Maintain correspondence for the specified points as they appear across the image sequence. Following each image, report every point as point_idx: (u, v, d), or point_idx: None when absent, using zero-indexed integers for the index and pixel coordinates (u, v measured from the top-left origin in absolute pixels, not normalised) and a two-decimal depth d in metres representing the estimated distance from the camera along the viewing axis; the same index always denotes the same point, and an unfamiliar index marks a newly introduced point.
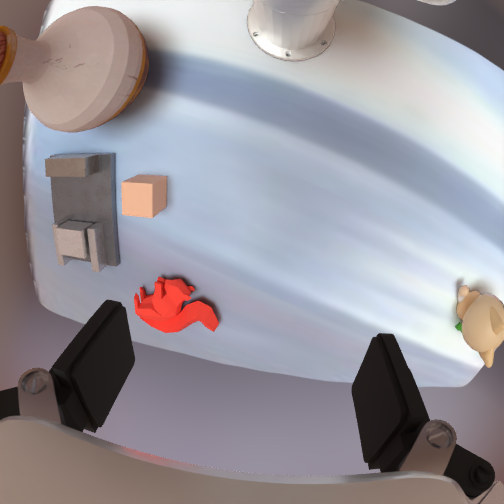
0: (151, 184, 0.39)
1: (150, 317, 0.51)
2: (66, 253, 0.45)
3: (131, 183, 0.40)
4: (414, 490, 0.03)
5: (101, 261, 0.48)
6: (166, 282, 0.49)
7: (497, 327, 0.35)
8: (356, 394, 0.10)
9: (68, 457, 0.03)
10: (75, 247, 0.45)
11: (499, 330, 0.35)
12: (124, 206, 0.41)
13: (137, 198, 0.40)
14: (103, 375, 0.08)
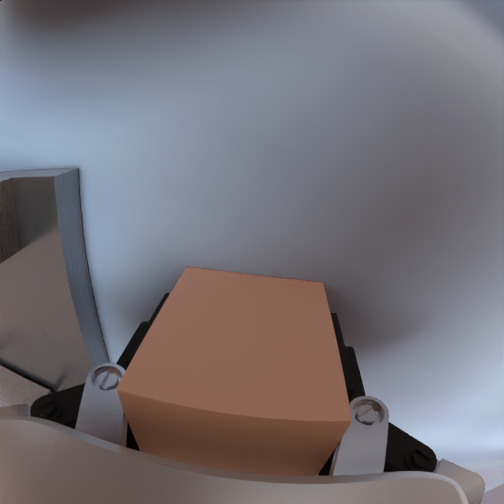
0: (342, 421, 0.05)
1: None
2: None
3: (189, 409, 0.05)
4: (414, 490, 0.03)
5: None
6: None
7: None
8: None
9: (68, 457, 0.03)
10: None
11: None
12: None
13: (232, 460, 0.06)
14: None
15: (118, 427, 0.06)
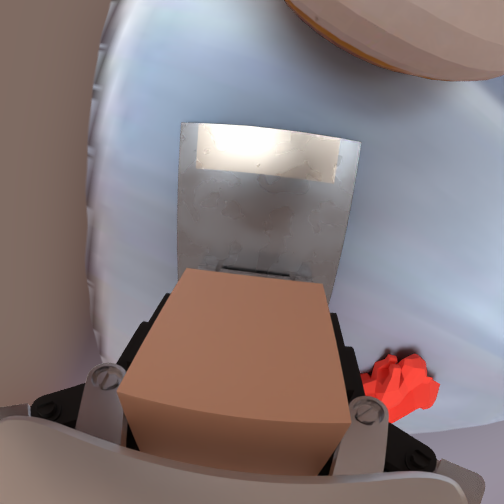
0: (341, 423, 0.05)
1: None
2: None
3: (189, 411, 0.05)
4: (414, 490, 0.03)
5: None
6: (406, 363, 0.28)
7: None
8: None
9: (68, 457, 0.03)
10: None
11: None
12: None
13: (232, 462, 0.06)
14: None
15: (118, 427, 0.06)
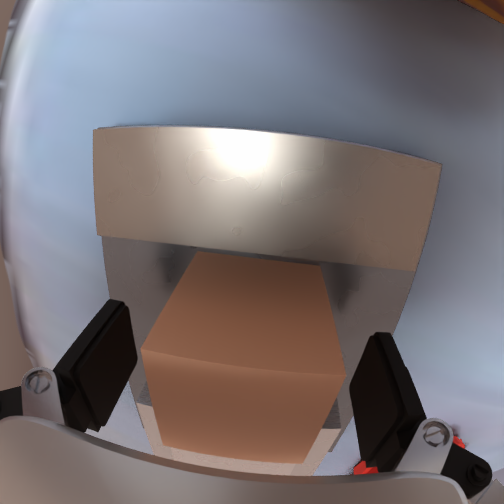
0: (337, 376, 0.07)
1: None
2: None
3: (205, 364, 0.07)
4: (414, 490, 0.03)
5: None
6: None
7: None
8: (353, 393, 0.10)
9: (68, 457, 0.03)
10: None
11: None
12: (169, 429, 0.08)
13: (240, 420, 0.08)
14: (106, 374, 0.08)
15: (61, 424, 0.05)
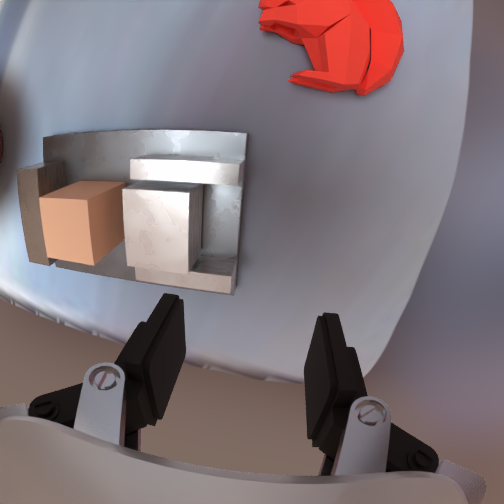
0: (40, 199, 0.18)
1: (355, 48, 0.15)
2: (182, 249, 0.21)
3: (45, 238, 0.20)
4: (414, 490, 0.03)
5: (221, 160, 0.21)
6: (263, 3, 0.16)
7: None
8: (306, 373, 0.11)
9: (68, 457, 0.03)
10: (163, 216, 0.20)
11: None
12: (79, 258, 0.20)
13: (62, 229, 0.19)
14: (166, 367, 0.09)
15: (116, 427, 0.06)
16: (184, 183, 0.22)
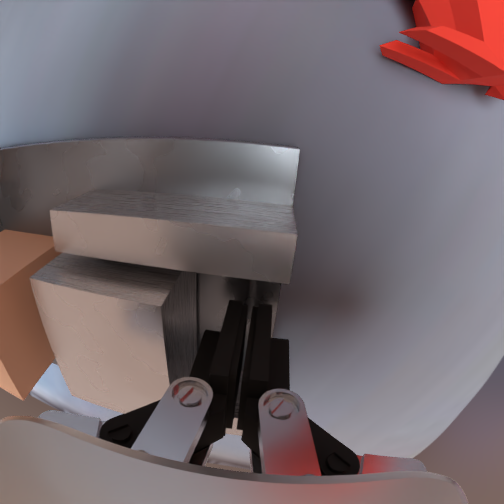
0: None
1: None
2: (159, 396, 0.09)
3: None
4: (414, 490, 0.03)
5: (247, 214, 0.09)
6: None
7: None
8: None
9: (68, 457, 0.03)
10: (113, 342, 0.08)
11: None
12: (1, 384, 0.08)
13: None
14: (238, 375, 0.09)
15: (185, 449, 0.05)
16: None
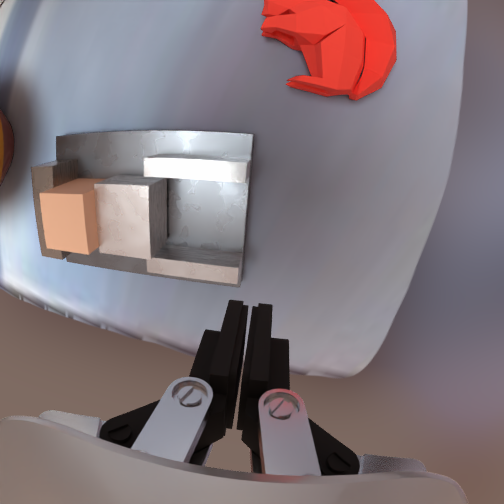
0: (40, 195, 0.20)
1: (349, 56, 0.17)
2: (144, 236, 0.23)
3: (45, 230, 0.21)
4: (414, 490, 0.03)
5: (229, 159, 0.22)
6: (266, 10, 0.17)
7: None
8: None
9: (68, 457, 0.03)
10: (128, 207, 0.22)
11: None
12: (75, 248, 0.22)
13: (60, 221, 0.21)
14: (238, 375, 0.09)
15: (184, 448, 0.05)
16: (149, 178, 0.24)
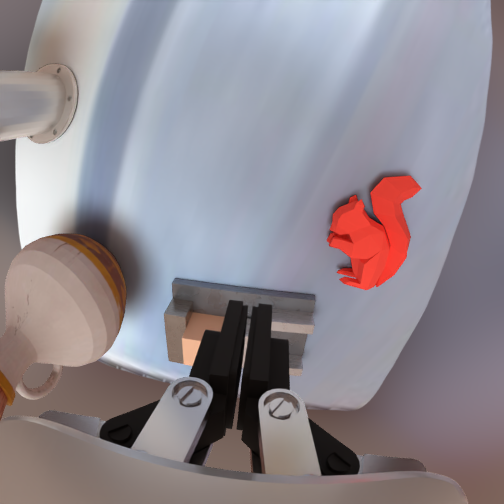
0: (182, 338, 0.38)
1: (377, 270, 0.35)
2: None
3: (184, 356, 0.39)
4: (414, 490, 0.03)
5: (303, 318, 0.40)
6: (333, 229, 0.35)
7: None
8: None
9: (68, 457, 0.03)
10: (245, 346, 0.39)
11: None
12: None
13: None
14: (238, 375, 0.09)
15: (185, 449, 0.05)
16: None
